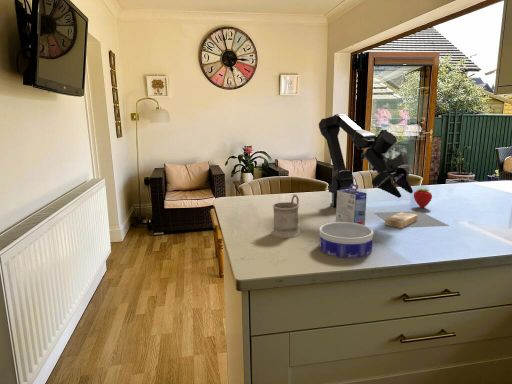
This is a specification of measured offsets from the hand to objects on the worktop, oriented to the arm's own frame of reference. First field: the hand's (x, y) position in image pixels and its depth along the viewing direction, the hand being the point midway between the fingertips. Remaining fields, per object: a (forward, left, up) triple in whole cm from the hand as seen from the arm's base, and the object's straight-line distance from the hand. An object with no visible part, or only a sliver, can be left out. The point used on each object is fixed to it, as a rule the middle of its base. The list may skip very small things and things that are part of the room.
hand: (406, 194), depth 126 cm
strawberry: (+17, +20, -11) cm, 28 cm away
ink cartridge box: (-19, +2, -11) cm, 22 cm away
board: (+4, +5, -9) cm, 11 cm away
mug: (-42, -3, -11) cm, 44 cm away
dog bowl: (-28, -21, -11) cm, 37 cm away
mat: (+4, +5, -11) cm, 12 cm away
